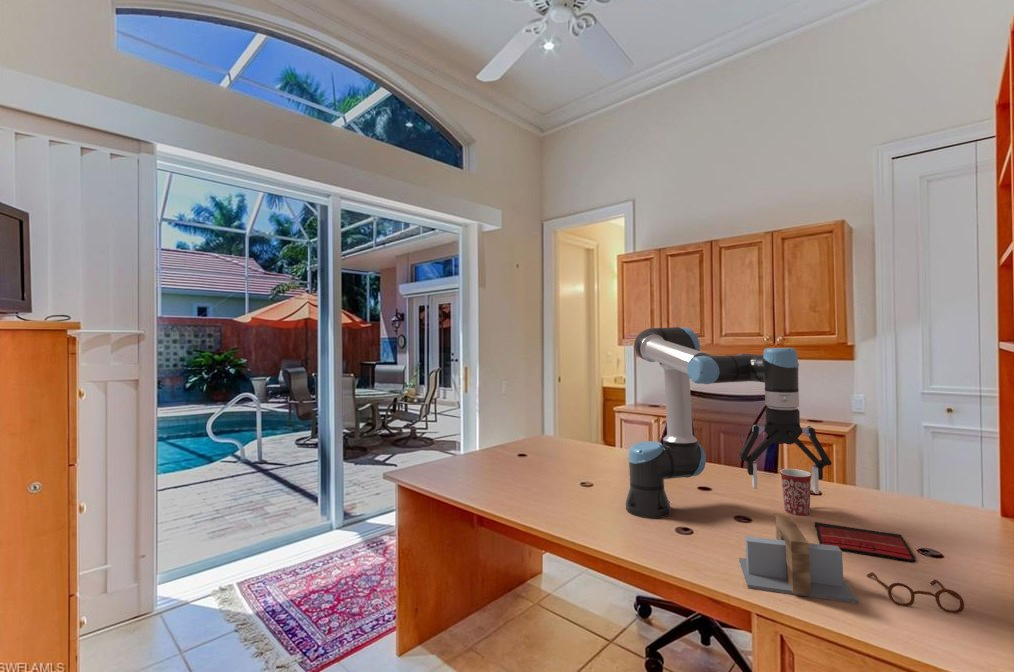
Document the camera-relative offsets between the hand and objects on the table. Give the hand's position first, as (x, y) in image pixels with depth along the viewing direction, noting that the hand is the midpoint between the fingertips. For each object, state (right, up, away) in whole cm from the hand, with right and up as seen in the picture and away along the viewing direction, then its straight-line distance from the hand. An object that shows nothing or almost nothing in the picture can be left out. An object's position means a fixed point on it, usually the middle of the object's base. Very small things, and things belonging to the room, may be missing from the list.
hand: (784, 489), depth 115 cm
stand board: (-1, -21, -5) cm, 21 cm away
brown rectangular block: (-1, -20, -5) cm, 20 cm away
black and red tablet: (+31, -21, +13) cm, 39 cm away
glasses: (+22, -21, -12) cm, 33 cm away
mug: (+29, -21, +39) cm, 53 cm away
